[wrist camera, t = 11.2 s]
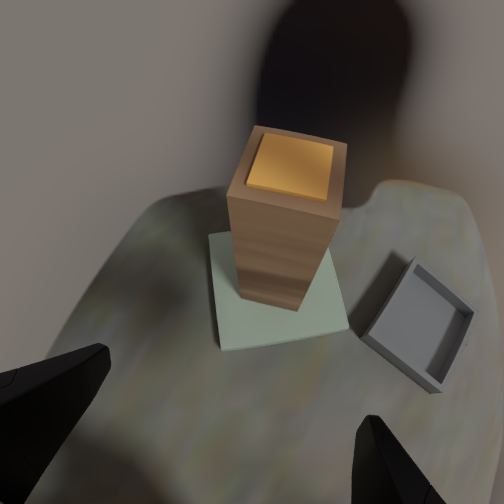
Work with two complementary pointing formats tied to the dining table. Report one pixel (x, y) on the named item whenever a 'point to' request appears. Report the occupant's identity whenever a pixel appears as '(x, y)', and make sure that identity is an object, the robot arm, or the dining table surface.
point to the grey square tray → (422, 327)
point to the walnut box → (284, 213)
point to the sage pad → (268, 317)
